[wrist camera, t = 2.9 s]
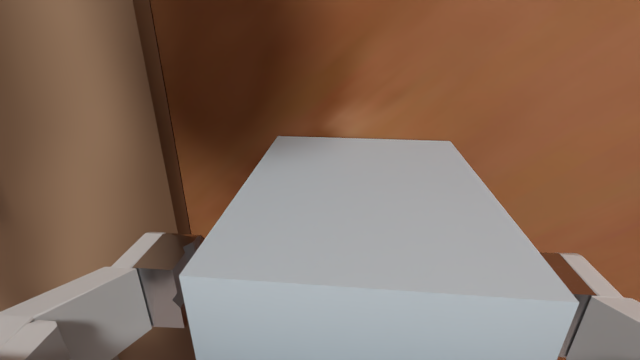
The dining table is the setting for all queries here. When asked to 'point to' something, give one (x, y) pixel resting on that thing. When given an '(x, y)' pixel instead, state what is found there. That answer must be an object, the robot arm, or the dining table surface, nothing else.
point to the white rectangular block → (371, 262)
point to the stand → (84, 149)
